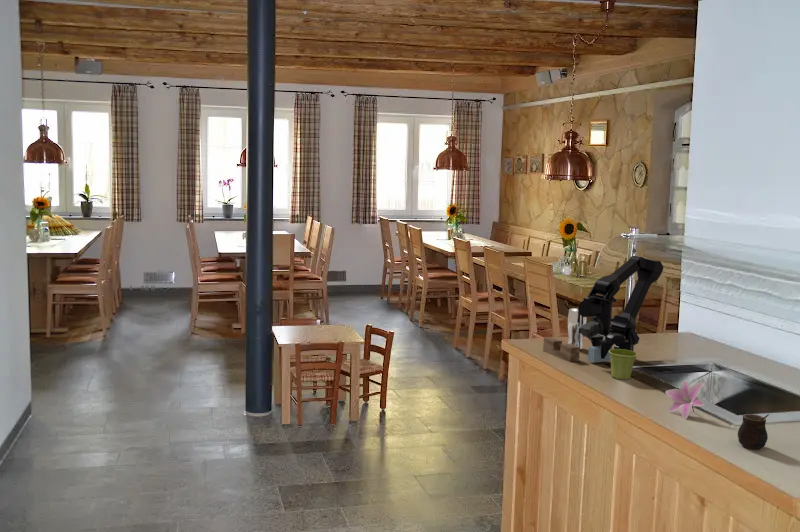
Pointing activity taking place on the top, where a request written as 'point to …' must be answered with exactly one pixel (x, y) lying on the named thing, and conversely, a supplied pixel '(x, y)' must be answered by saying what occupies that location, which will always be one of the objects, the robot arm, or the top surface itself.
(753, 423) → the mate gourd
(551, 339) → the rail
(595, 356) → the light blue block
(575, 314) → the beer glass
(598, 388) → the top surface
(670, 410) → the lily
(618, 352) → the plant pot
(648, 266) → the robot arm
